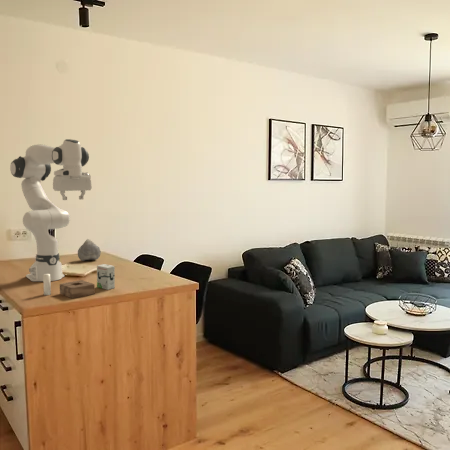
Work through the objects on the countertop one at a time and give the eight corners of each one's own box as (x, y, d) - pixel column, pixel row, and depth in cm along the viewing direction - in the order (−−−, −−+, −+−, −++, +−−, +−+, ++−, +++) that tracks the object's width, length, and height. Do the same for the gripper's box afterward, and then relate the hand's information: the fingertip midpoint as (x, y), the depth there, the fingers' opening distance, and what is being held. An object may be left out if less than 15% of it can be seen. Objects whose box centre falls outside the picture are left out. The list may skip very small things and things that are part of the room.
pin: (42, 294, 226) (42, 274, 225) (48, 293, 228) (48, 273, 227) (45, 295, 224) (45, 275, 222) (52, 294, 226) (51, 274, 225)
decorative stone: (99, 258, 321) (98, 237, 319) (102, 261, 312) (101, 239, 310) (76, 260, 314) (76, 238, 312) (79, 263, 305) (78, 240, 303)
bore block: (59, 293, 227) (59, 283, 227) (81, 289, 236) (81, 280, 236) (72, 298, 219) (72, 288, 219) (94, 294, 228) (94, 284, 228)
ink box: (96, 287, 241) (96, 265, 240) (103, 285, 245) (103, 263, 244) (108, 290, 237) (107, 267, 235) (115, 288, 241) (115, 265, 239)
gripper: (86, 172, 240) (86, 198, 242) (50, 171, 224) (51, 200, 226) (93, 172, 236) (94, 199, 238) (58, 171, 220) (58, 200, 222)
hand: (73, 199), depth 232 cm, fingers open, 8 cm apart
